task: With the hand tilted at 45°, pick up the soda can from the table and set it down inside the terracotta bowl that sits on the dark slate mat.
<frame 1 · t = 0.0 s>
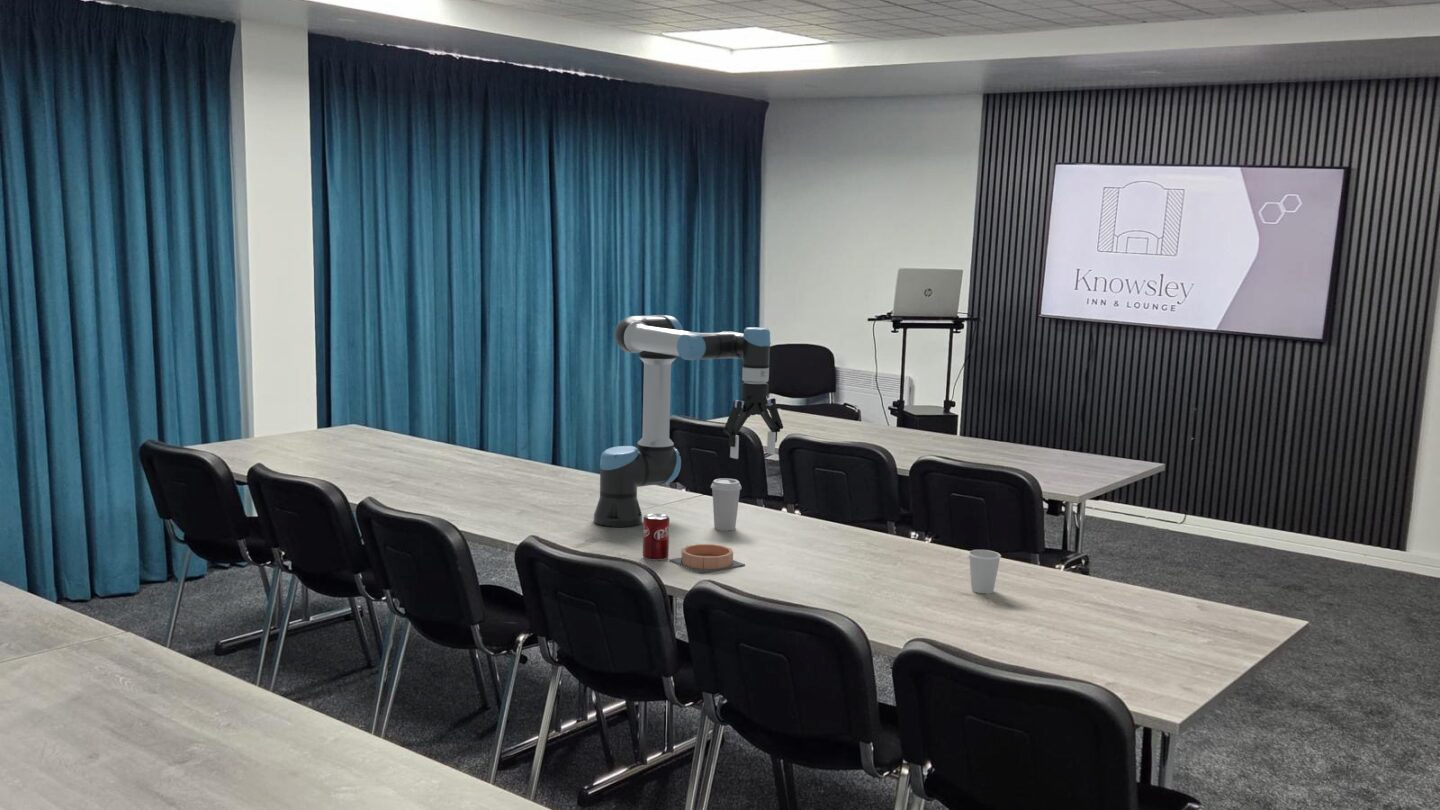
hand: (752, 456, 340), 28 cm above the table, tool pointing down, fingers open, 13 cm apart
dixie cup: (982, 591, 311), on the table
bowl: (706, 563, 329), on the table
coffee cup: (724, 528, 370), on the table
soda can: (655, 558, 333), on the table
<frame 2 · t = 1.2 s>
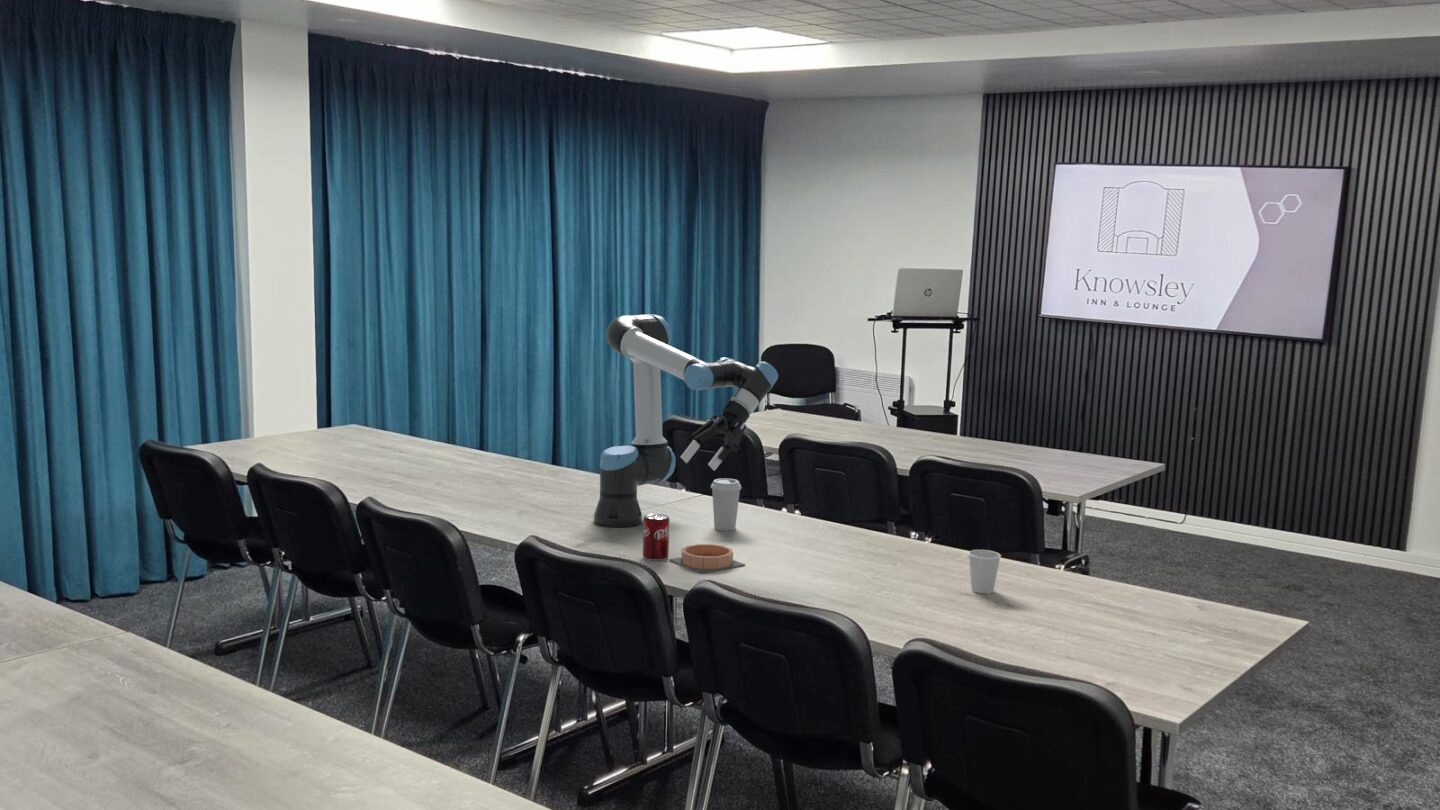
hand: (697, 463, 338), 26 cm above the table, tool tilted 45°, fingers open, 13 cm apart
nothing on the table moved.
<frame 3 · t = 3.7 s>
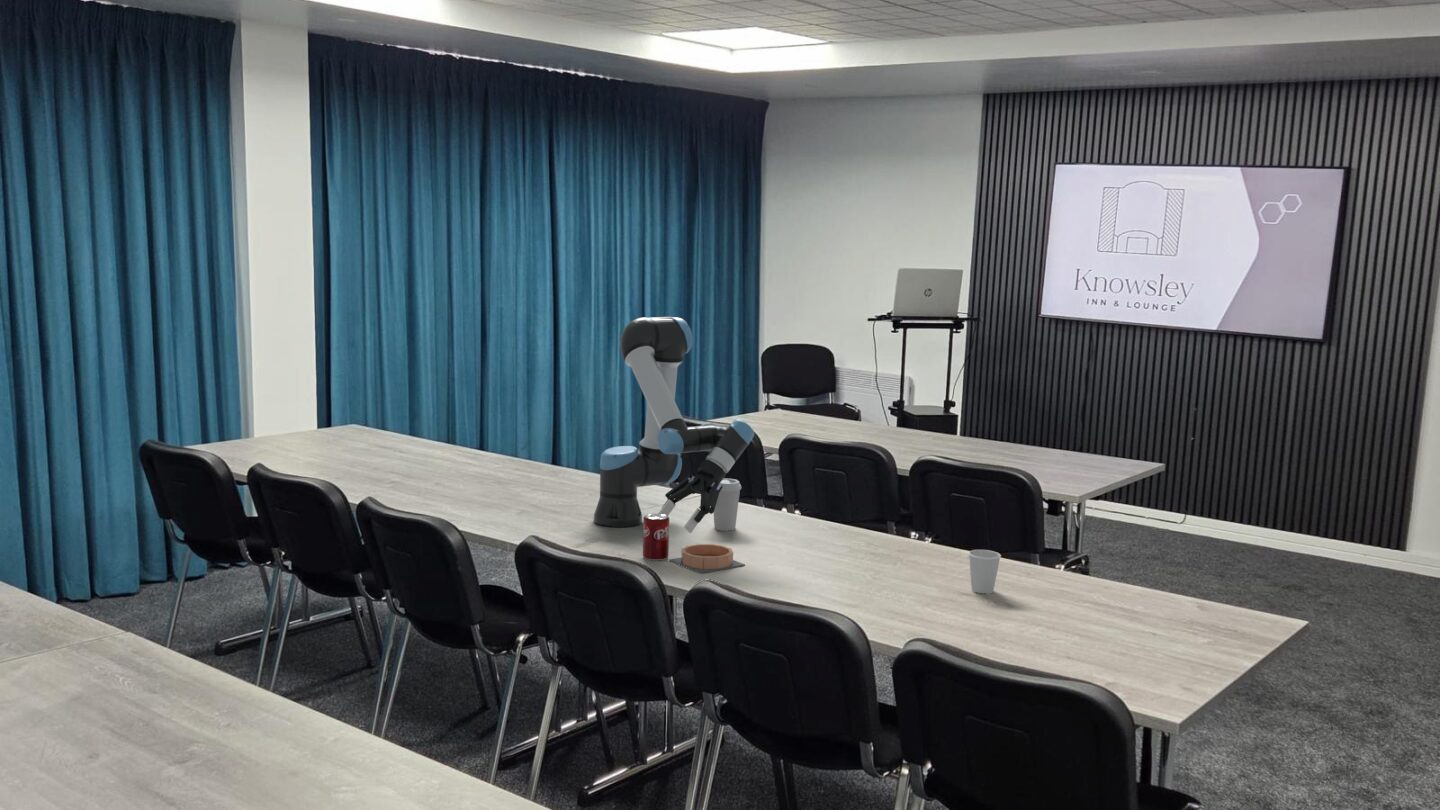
hand: (672, 525, 333), 9 cm above the table, tool tilted 45°, fingers open, 13 cm apart
nothing on the table moved.
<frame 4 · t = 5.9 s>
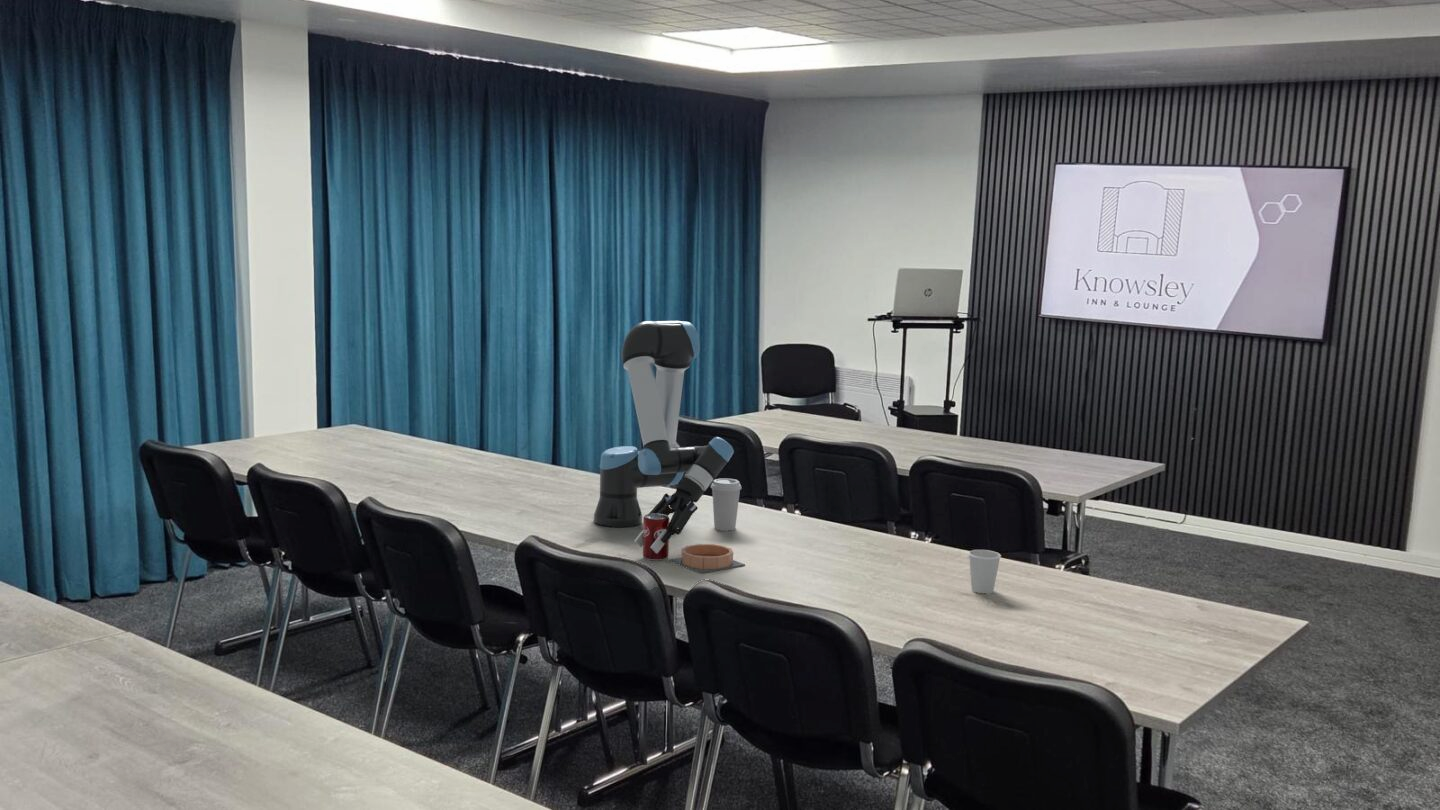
hand: (645, 547, 331), 4 cm above the table, tool tilted 45°, fingers closed on soda can, 7 cm apart
soda can: (655, 558, 333), on the table, touching gripper
everything else where it was.
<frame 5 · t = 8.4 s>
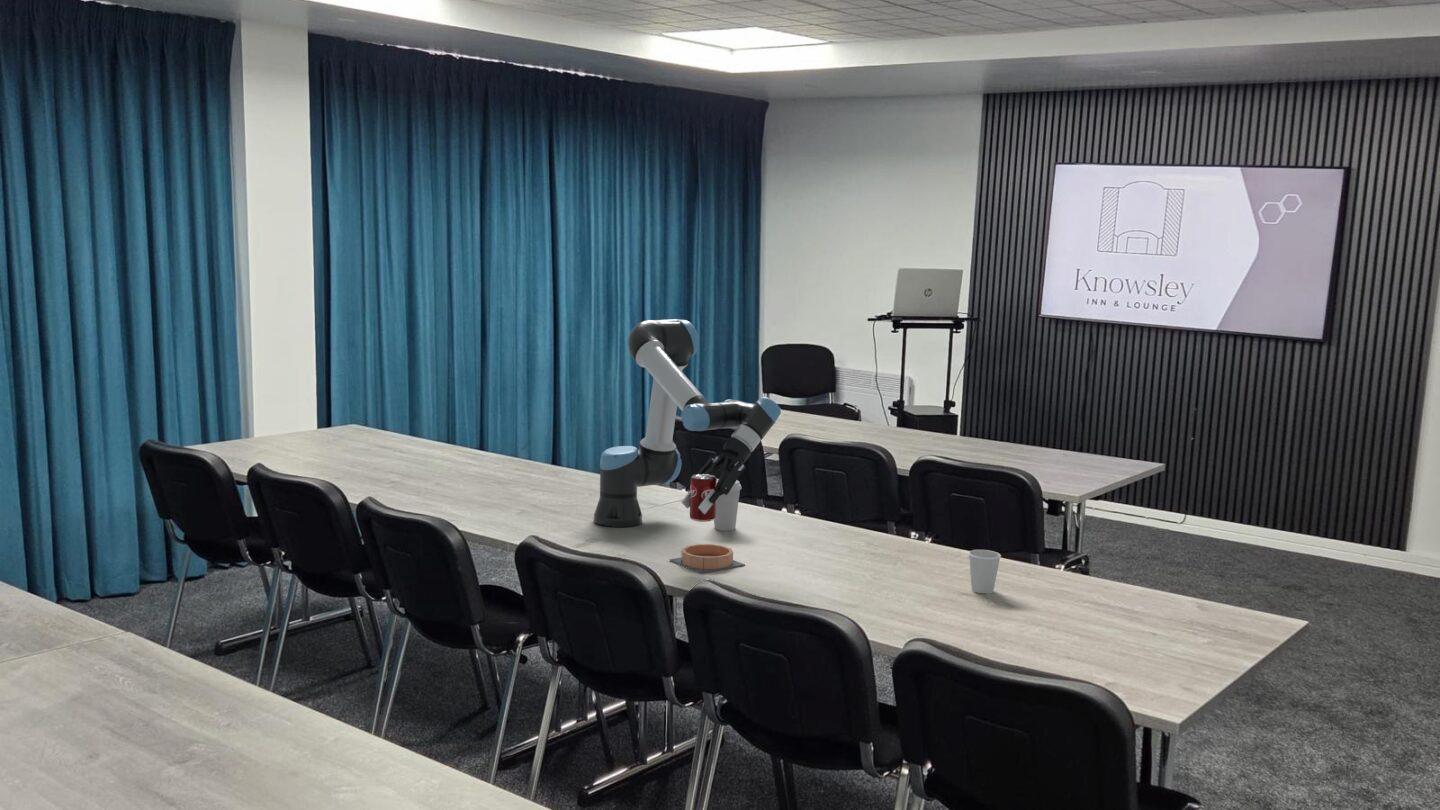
hand: (693, 507, 325), 16 cm above the table, tool tilted 45°, fingers closed on soda can, 7 cm apart
soda can: (702, 519, 327), point 12 cm above the table, touching gripper
everything else where it was.
when the fingers open (6 cm above the table, at t = 10.7 s): soda can drops 1 cm, resting on bowl.
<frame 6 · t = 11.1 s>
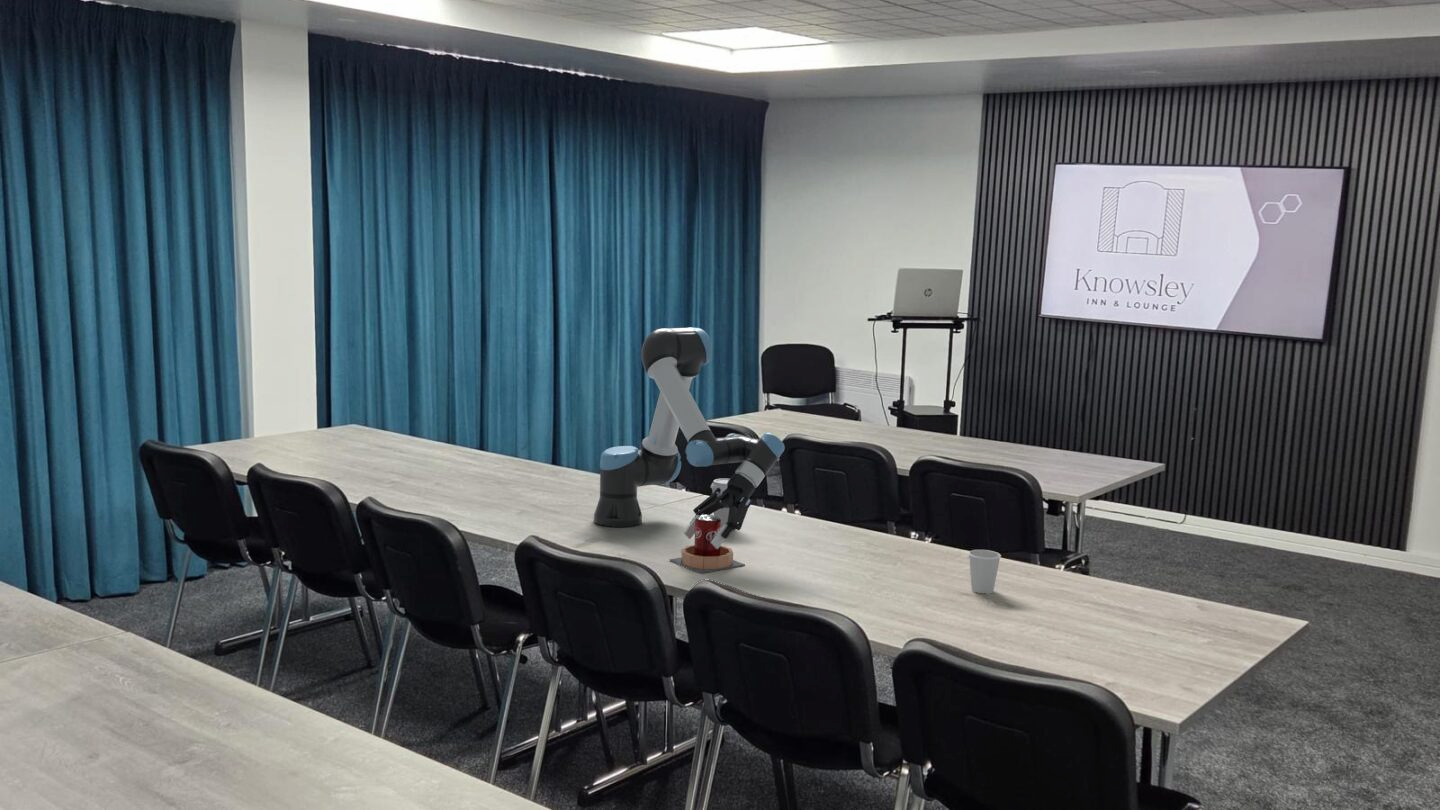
hand: (700, 541, 327), 7 cm above the table, tool tilted 45°, fingers open, 12 cm apart
soda can: (707, 560, 329), point 1 cm above the table, touching bowl
everything else where it was.
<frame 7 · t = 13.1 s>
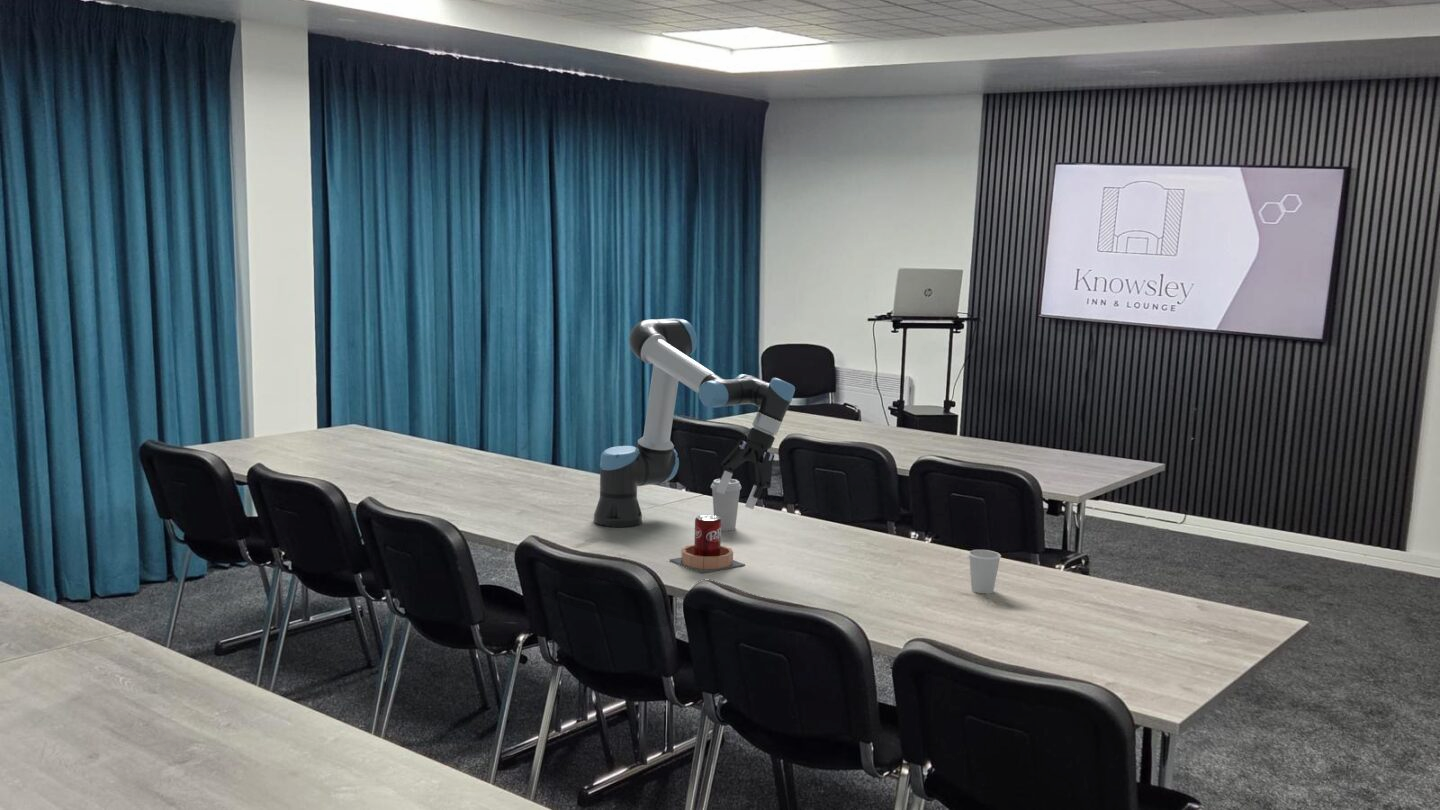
hand: (734, 500, 337), 16 cm above the table, tool tilted 25°, fingers open, 13 cm apart
nothing on the table moved.
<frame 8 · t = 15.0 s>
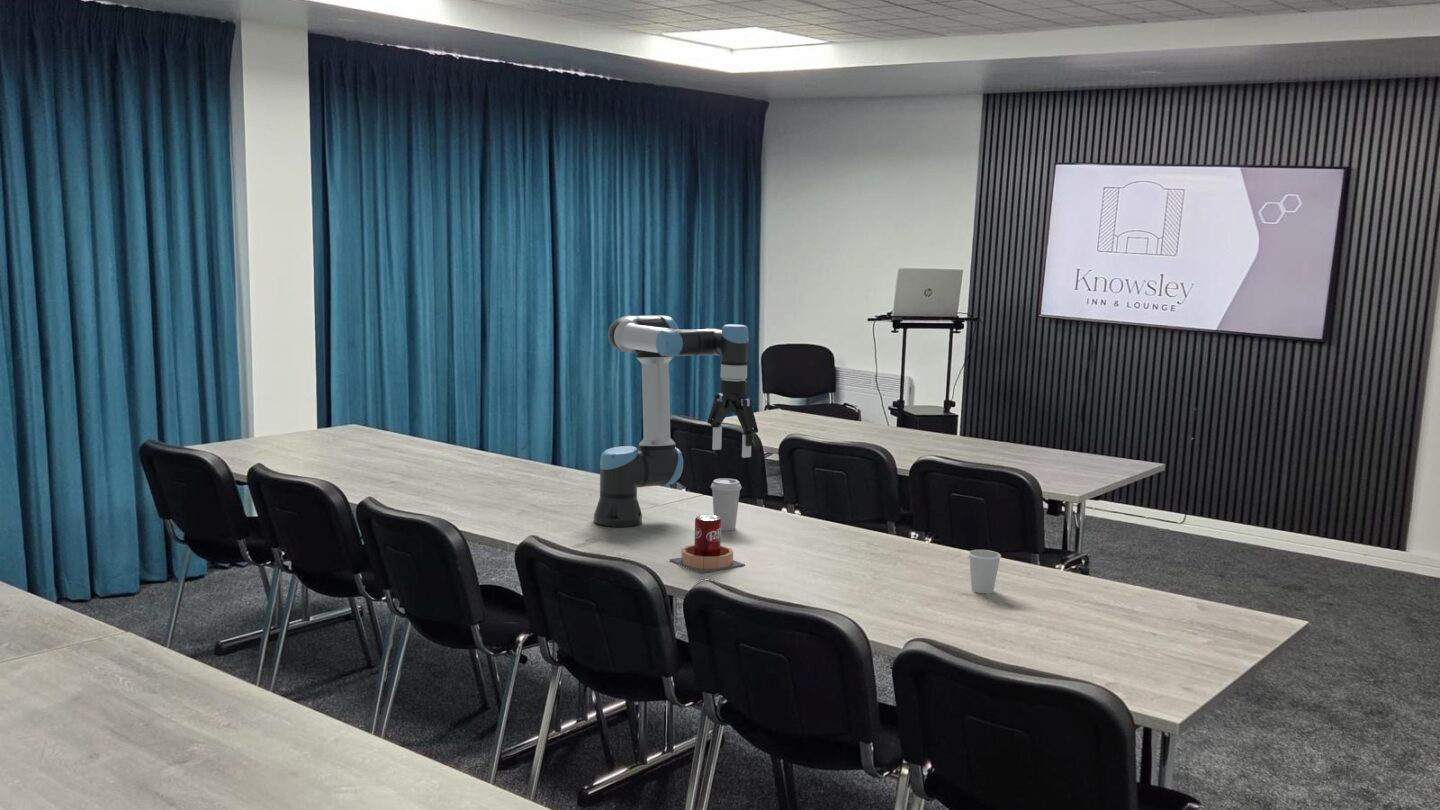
hand: (731, 453, 339), 29 cm above the table, tool pointing down, fingers open, 13 cm apart
nothing on the table moved.
at the end: soda can 0.0 cm from the bowl (horizontally); soda can tilted 0°; soda can point 0.8 cm above the table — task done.
